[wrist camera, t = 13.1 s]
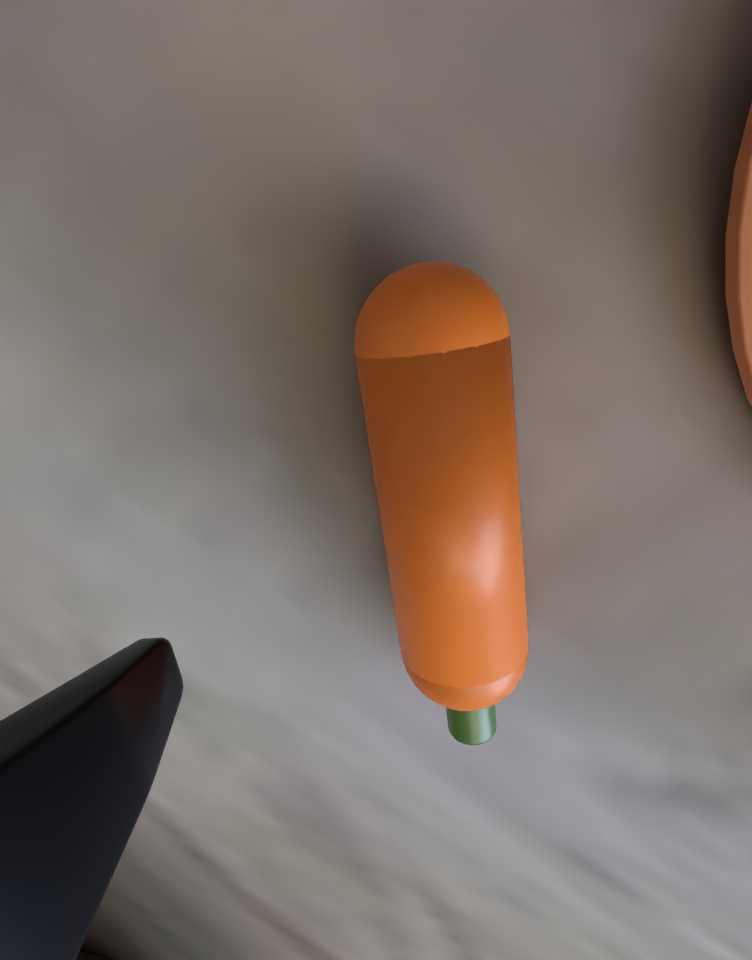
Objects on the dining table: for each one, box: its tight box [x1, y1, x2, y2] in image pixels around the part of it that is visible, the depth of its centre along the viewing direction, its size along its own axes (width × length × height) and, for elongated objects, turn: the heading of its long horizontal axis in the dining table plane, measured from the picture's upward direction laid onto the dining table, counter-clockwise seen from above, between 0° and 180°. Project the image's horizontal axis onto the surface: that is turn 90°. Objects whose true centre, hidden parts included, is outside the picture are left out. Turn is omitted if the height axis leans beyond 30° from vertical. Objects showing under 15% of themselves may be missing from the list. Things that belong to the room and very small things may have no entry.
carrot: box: [354, 261, 529, 745], centre depth 12 cm, size 11×3×3 cm, turn 8°
